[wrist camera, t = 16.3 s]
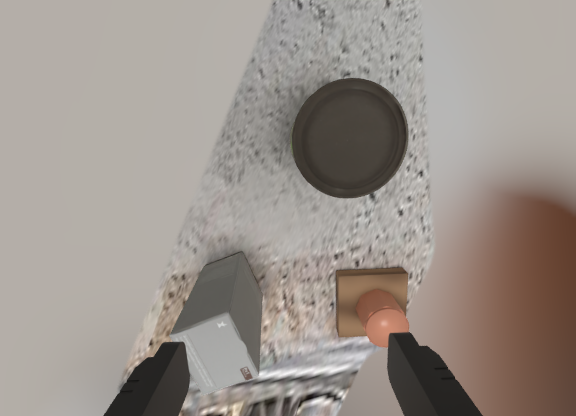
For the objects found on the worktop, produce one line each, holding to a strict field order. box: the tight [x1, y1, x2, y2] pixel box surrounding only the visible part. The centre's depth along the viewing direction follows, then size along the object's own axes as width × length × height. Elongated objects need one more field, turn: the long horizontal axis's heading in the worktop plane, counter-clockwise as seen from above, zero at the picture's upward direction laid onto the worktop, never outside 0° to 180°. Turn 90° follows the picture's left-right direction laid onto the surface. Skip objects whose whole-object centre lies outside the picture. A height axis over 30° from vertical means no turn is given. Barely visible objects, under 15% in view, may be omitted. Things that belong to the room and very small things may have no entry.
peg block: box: [336, 268, 408, 337], centre depth 41 cm, size 10×10×6 cm
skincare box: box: [170, 252, 263, 395], centre depth 36 cm, size 8×7×16 cm
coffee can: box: [290, 78, 408, 198], centre depth 32 cm, size 10×10×14 cm
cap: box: [355, 289, 409, 347], centre depth 40 cm, size 6×6×5 cm
